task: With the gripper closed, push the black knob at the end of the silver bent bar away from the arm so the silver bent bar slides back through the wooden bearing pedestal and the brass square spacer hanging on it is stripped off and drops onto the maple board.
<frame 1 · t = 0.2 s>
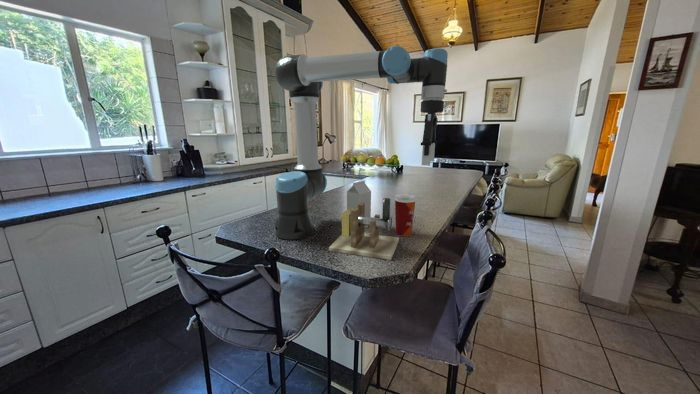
hand: (428, 163, 98), 28 cm above the countertop, fingers open, 13 cm apart
milk carton: (358, 226, 115), on the countertop
silver bent bar: (366, 212, 93), point 12 cm above the countertop, slide at 0.0 cm, touching spacer
coffee cup: (403, 233, 107), on the countertop
wooden stand with blocks: (365, 245, 96), on the countertop
spacer: (349, 222, 96), point 8 cm above the countertop, touching silver bent bar
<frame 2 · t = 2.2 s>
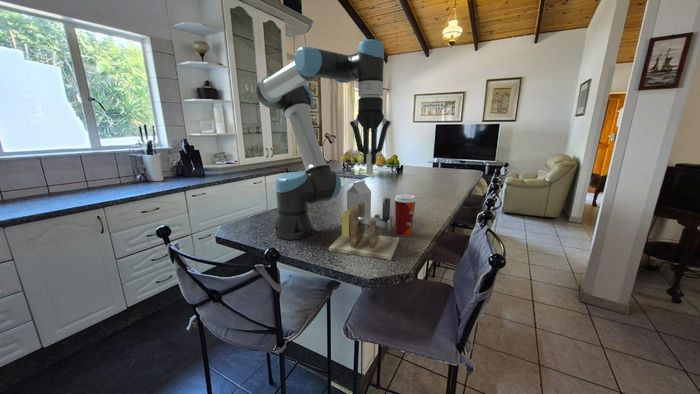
hand: (369, 173, 90), 25 cm above the countertop, fingers closed
nothing on the countertop moved.
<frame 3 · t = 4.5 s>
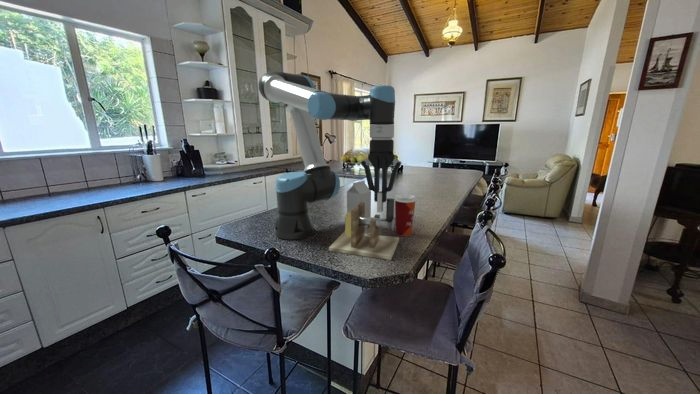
hand: (380, 211, 91), 13 cm above the countertop, fingers closed
silver bent bar: (369, 212, 93), point 12 cm above the countertop, slide at 1.3 cm, touching gripper, spacer
spacer: (352, 222, 96), point 8 cm above the countertop, touching wooden stand with blocks, silver bent bar
everything else where it was.
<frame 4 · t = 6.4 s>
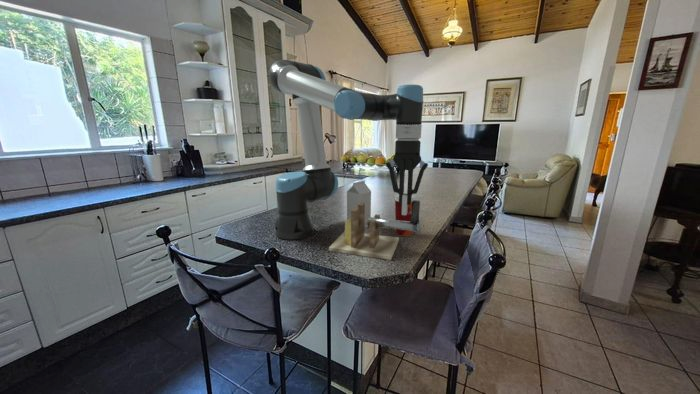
hand: (404, 213, 89), 13 cm above the countertop, fingers closed
silver bent bar: (393, 215, 90), point 12 cm above the countertop, slide at 9.4 cm, touching gripper
spacer: (352, 229, 96), point 5 cm above the countertop, touching wooden stand with blocks
everything else where it was.
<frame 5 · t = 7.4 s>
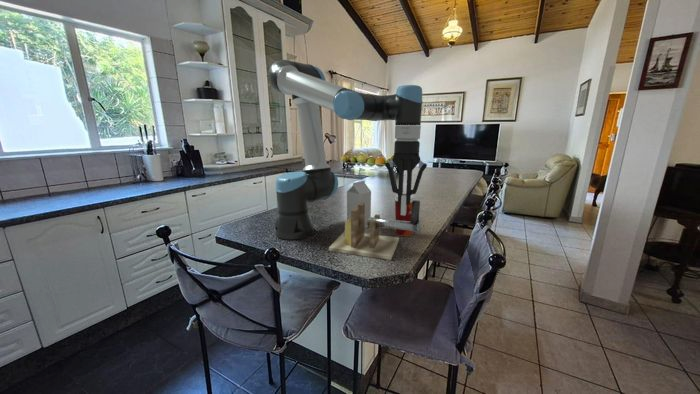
hand: (403, 214, 89), 13 cm above the countertop, fingers closed
silver bent bar: (393, 215, 90), point 12 cm above the countertop, slide at 9.5 cm
everything else where it was.
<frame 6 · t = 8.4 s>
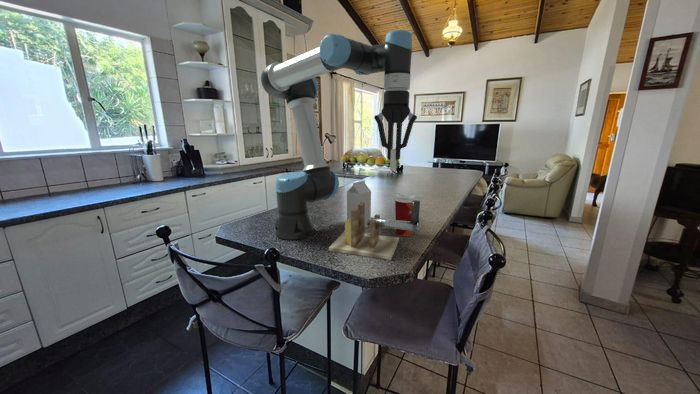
hand: (393, 169, 87), 27 cm above the countertop, fingers closed
nothing on the countertop moved.
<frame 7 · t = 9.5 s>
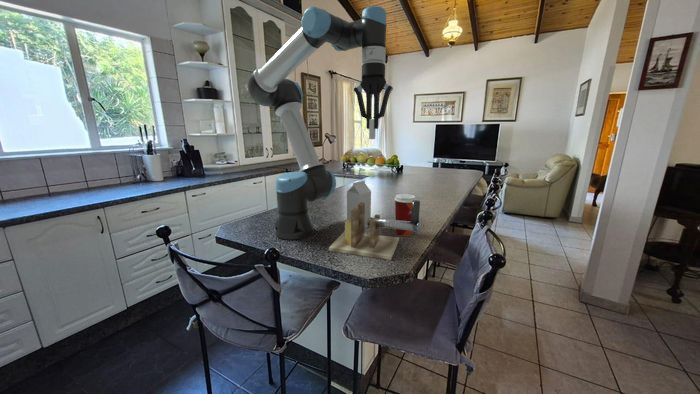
hand: (372, 138, 94), 36 cm above the countertop, fingers closed
nothing on the countertop moved.
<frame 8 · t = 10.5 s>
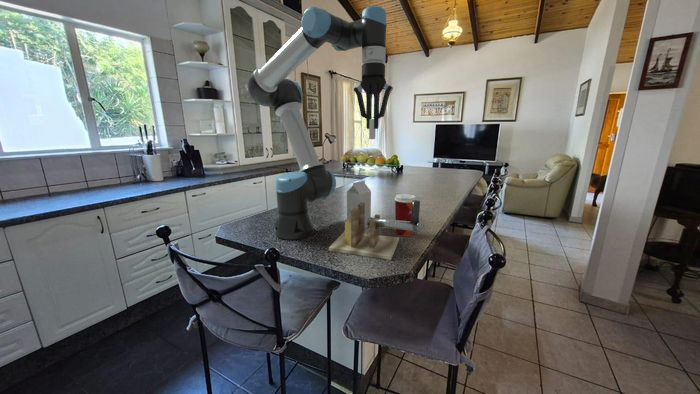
hand: (372, 138, 94), 36 cm above the countertop, fingers closed
nothing on the countertop moved.
at the end: spacer touching wooden stand with blocks; spacer point 5.2 cm above the countertop; silver bent bar slide at 9.5 cm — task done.
